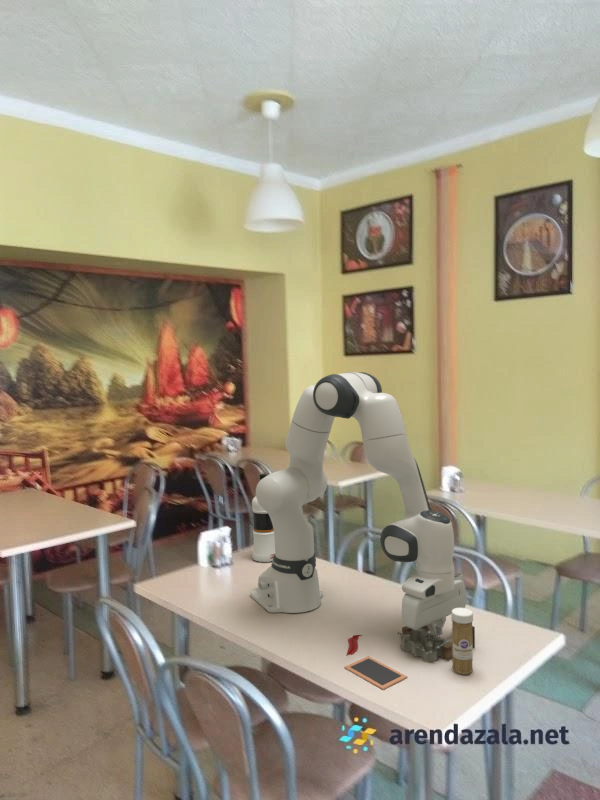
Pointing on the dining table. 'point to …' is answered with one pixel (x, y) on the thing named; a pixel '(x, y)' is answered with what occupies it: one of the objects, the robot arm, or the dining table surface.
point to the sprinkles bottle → (462, 640)
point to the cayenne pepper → (353, 644)
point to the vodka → (262, 532)
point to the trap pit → (376, 672)
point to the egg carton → (423, 644)
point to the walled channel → (446, 648)
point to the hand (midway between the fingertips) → (435, 635)
